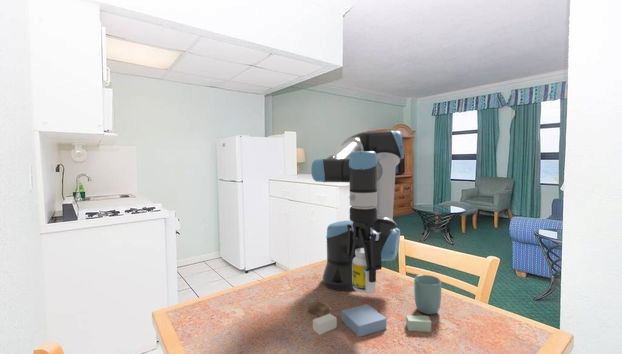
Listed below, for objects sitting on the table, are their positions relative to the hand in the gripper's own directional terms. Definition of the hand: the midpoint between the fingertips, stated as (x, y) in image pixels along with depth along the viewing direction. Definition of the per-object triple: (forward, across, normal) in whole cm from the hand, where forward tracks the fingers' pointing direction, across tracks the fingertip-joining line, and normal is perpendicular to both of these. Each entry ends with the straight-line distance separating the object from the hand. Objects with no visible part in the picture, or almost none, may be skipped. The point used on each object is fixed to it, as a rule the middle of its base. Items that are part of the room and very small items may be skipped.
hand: (363, 287), depth 85 cm
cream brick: (+11, -3, -11) cm, 16 cm away
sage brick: (+11, +8, +13) cm, 19 cm away
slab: (+11, 0, 0) cm, 11 cm away
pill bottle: (+1, 0, 0) cm, 1 cm away
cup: (+11, +2, +22) cm, 25 cm away
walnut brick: (+11, -11, -9) cm, 18 cm away
